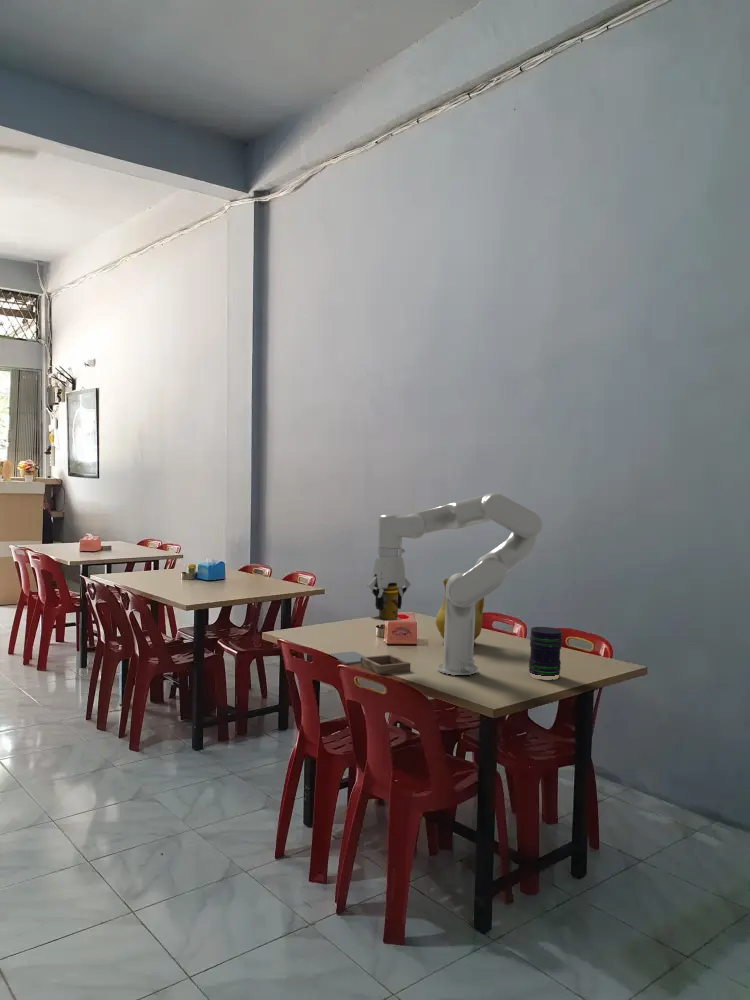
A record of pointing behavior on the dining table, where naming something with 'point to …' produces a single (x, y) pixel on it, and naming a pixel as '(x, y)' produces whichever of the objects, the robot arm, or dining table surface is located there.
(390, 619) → the condiment
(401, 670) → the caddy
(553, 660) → the storage jar
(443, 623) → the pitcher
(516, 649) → the dining table surface
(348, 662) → the mat
